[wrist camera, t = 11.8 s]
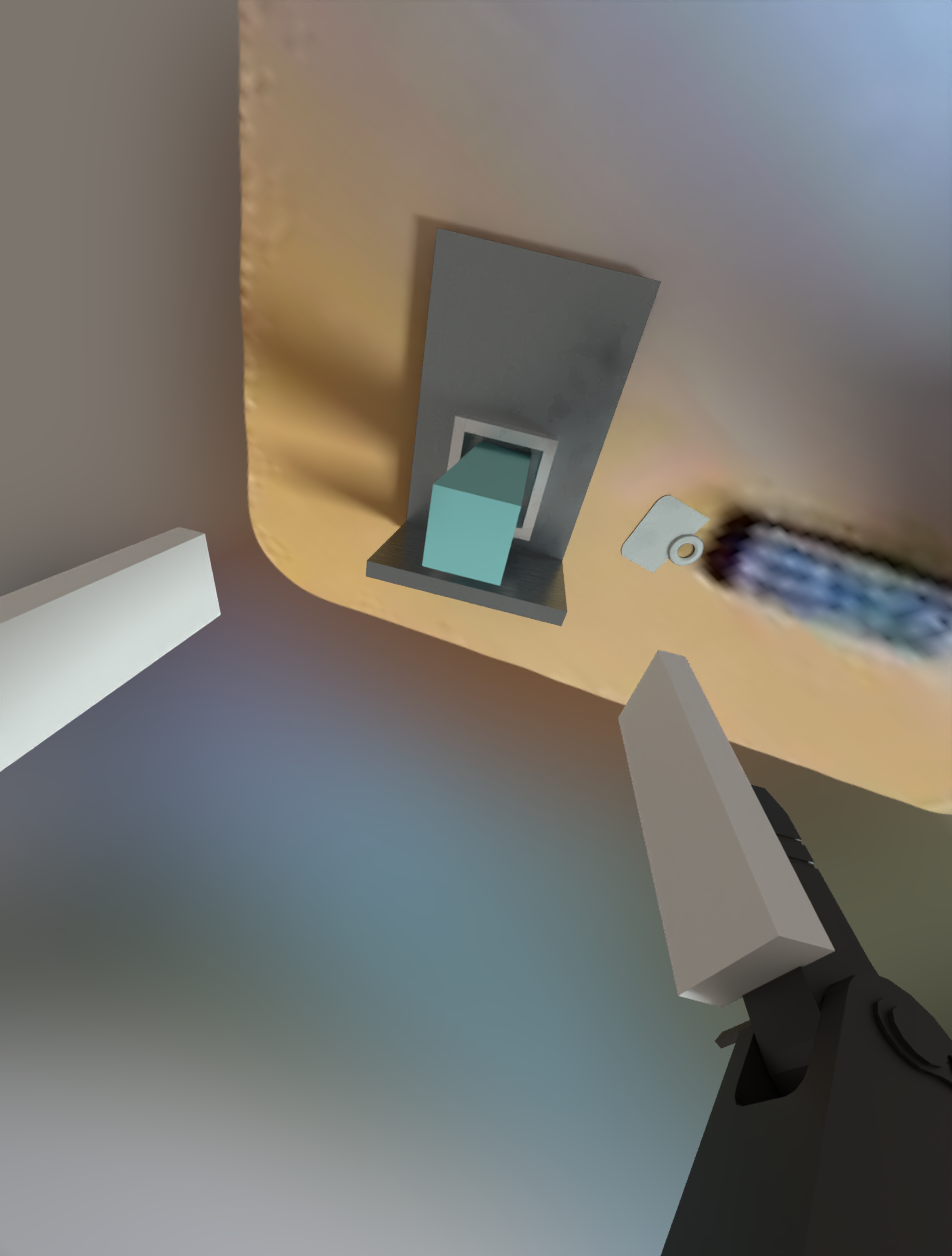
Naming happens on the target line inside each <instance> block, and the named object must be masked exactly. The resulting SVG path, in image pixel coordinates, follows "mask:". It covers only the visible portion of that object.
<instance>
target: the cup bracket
mask: <svg viewBox="0 0 952 1256" xmlns="http://www.w3.org/2000/svg"><path fill="white" fill-rule="evenodd" d="M660 283H661V281H657V280H652V279H648V278H644V277H640V276H636V275H632V274H627V273H623V272H619V271H615V270H611V269H607V268H602V267H598V266H594V265H590V264H586V263H582V262H577V261H573V260H569V259H565V258H561V257H557V256H552V255H548V254H544V253H540V252H536V251H532V250H527V249H523V248H519V247H515V246H511V245H507V244H502V243H498V242H494V241H490V240H486V239H482V238H477V237H473V236H469V235H465V234H461V233H457V232H452V231H448V230H444V229H440V228H437V234H436V243H435V253H434V262H433V272H432V282H431V291H430V301H429V310H428V320H427V329H426V339H425V349H424V358H423V368H422V377H421V387H420V396H419V406H418V415H417V425H416V435H415V444H414V454H413V463H412V473H411V482H410V492H409V502H408V511H407V521H406V522H405V523H404V524H403V525H402V526H401V527H400V528H399V529H398V530H397V531H396V532H395V533H394V534H393V535H392V536H391V537H390V538H389V539H388V540H387V541H386V542H385V543H384V544H383V545H382V546H381V547H380V548H379V549H378V550H377V551H376V552H375V553H374V554H373V555H372V556H371V557H370V558H369V559H368V560H367V568H366V576H367V577H371V578H375V579H379V580H382V581H386V582H390V583H394V584H398V585H402V586H406V587H410V588H414V589H418V590H422V591H426V592H429V593H433V594H437V595H441V596H445V597H449V598H453V599H457V600H461V601H465V602H469V603H473V604H476V605H480V606H484V607H488V608H492V609H496V610H500V611H504V612H508V613H512V614H516V615H519V616H523V617H527V618H531V619H535V620H539V621H543V622H547V623H551V624H555V625H559V626H562V623H563V621H564V618H565V616H566V613H567V606H566V596H565V585H564V575H563V564H562V560H563V557H564V554H565V551H566V548H567V545H568V543H569V540H570V537H571V534H572V531H573V528H574V526H575V523H576V520H577V517H578V514H579V512H580V509H581V506H582V503H583V500H584V497H585V495H586V492H587V489H588V486H589V483H590V480H591V478H592V475H593V472H594V469H595V466H596V464H597V461H598V458H599V455H600V452H601V449H602V447H603V444H604V441H605V438H606V435H607V432H608V430H609V427H610V424H611V421H612V418H613V416H614V413H615V410H616V407H617V404H618V401H619V399H620V396H621V393H622V390H623V387H624V384H625V382H626V379H627V376H628V373H629V370H630V367H631V365H632V362H633V359H634V356H635V353H636V351H637V348H638V345H639V342H640V339H641V336H642V334H643V331H644V328H645V325H646V322H647V319H648V317H649V314H650V311H651V308H652V305H653V303H654V300H655V297H656V294H657V291H658V288H659V286H660ZM480 441H481V442H485V443H489V444H493V445H497V446H501V447H505V448H509V449H513V450H517V451H521V452H525V453H529V454H531V458H530V464H529V469H528V474H527V479H526V484H525V490H524V495H523V500H522V505H521V509H520V513H519V517H518V520H517V524H516V528H515V532H514V535H513V539H512V543H511V547H510V550H509V554H508V558H507V562H506V565H505V569H504V573H503V576H502V580H501V584H500V586H499V585H495V584H491V583H487V582H483V581H479V580H475V579H471V578H467V577H463V576H460V575H456V574H452V573H448V572H444V571H440V570H436V569H432V568H428V567H424V566H422V562H423V555H424V548H425V540H426V533H427V526H428V518H429V511H430V504H431V496H432V489H433V484H434V483H435V482H436V481H437V480H438V479H440V478H441V477H442V476H443V475H444V474H445V473H446V472H447V471H448V470H449V469H451V468H452V467H453V466H454V465H455V464H456V463H457V462H458V461H459V460H460V459H462V458H463V457H464V456H465V455H466V454H467V453H468V452H469V451H470V450H472V449H473V448H474V447H475V446H476V445H477V444H478V443H479V442H480Z"/></svg>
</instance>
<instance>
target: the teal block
mask: <svg viewBox="0 0 952 1256" xmlns="http://www.w3.org/2000/svg"><path fill="white" fill-rule="evenodd" d="M530 458H531V454H529V453H525V452H521V451H517V450H513V449H509V448H505V447H501V446H497V445H493V444H489V443H485V442H481V441H480V442H479V443H478V444H477V445H476V446H475V447H474V448H473V449H472V450H470V451H469V452H468V453H467V454H466V455H465V456H464V457H463V458H462V459H460V460H459V461H458V462H457V463H456V464H455V465H454V466H453V467H452V468H451V469H449V470H448V471H447V472H446V473H445V474H444V475H443V476H442V477H441V478H440V479H438V480H437V481H436V482H435V483H434V484H433V489H432V496H431V504H430V511H429V518H428V526H427V533H426V540H425V548H424V555H423V562H422V566H424V567H428V568H432V569H436V570H440V571H444V572H448V573H452V574H456V575H460V576H463V577H467V578H471V579H475V580H479V581H483V582H487V583H491V584H495V585H499V586H500V584H501V580H502V576H503V573H504V569H505V565H506V562H507V558H508V554H509V550H510V547H511V543H512V539H513V535H514V532H515V528H516V524H517V520H518V517H519V513H520V509H521V505H522V500H523V495H524V490H525V484H526V479H527V474H528V469H529V464H530Z"/></svg>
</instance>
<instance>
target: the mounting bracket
mask: <svg viewBox="0 0 952 1256" xmlns="http://www.w3.org/2000/svg"><path fill="white" fill-rule="evenodd" d="M708 520H709V519H708V518H707V517H705V516H704V515H702V514H700V513H699V512H697V511H695V510H694V509H692V508H690V507H689V506H687V505H686V504H684V503H682V502H681V501H679V500H677V499H676V498H674V497H672V496H671V495H668V496H664V497H662V498H660V499H659V500H658V501H657V502H656V503H655V505H654V506H653V507H652V508H651V510H650V511H649V512H648V513H647V515H646V516H645V517H644V519H643V520H642V521H641V522H640V524H639V525H638V526H637V528H636V529H635V530H634V531H633V533H632V534H631V535H630V537H629V538H628V539H627V540H626V542H625V543H624V544H623V546H622V549H621V553H622V556H624V557H626V558H628V559H629V560H631V561H633V562H635V563H636V564H638V565H640V566H642V567H643V568H645V569H647V570H649V571H650V572H652V573H653V572H654V571H656V570H657V569H658V568H659V567H660V566H661V565H662V564H663V563H664V562H665V561H666V560H667V559H668V558H669V559H670V560H671V561H672V562H673V563H674V564H677V565H689V564H691V563H694V562H695V561H696V560H698V559H699V558H700V556H701V555H702V553H703V548H704V546H703V542H702V540H701V539H700V538H699V537H698V536H695V535H694V534H695V533H696V532H697V531H698V530H699V529H700V528H701V527H702V526H703V525H704V524H705V523H706V522H707V521H708ZM686 543H690V544H693V545H694V547H695V550H694V552H693V554H692V555H691V556H689V557H687V558H681V557H679V556H678V549H679V548H680V547H681V546H682V545H683V544H686Z"/></svg>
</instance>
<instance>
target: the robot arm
mask: <svg viewBox="0 0 952 1256" xmlns="http://www.w3.org/2000/svg"><path fill="white" fill-rule="evenodd" d="M219 615H220V609H219V604H218V599H217V594H216V589H215V584H214V579H213V573H212V568H211V564H210V558H209V553H208V548H207V543H206V538H205V534H204V533H200V532H196V531H192V530H189V529H185V528H180V527H178V528H175V529H172V530H170V531H167V532H165V533H162V534H160V535H157V536H155V537H152V538H149V539H147V540H144V541H142V542H139V543H137V544H134V545H132V546H129V547H126V548H124V549H121V550H119V551H116V552H114V553H111V554H109V555H106V556H104V557H101V558H98V559H96V560H93V561H91V562H88V563H86V564H83V565H81V566H78V567H75V568H73V569H70V570H68V571H65V572H63V573H60V574H58V575H55V576H53V577H50V578H47V579H45V580H42V581H40V582H37V583H35V584H32V585H30V586H27V587H24V588H22V589H20V590H17V591H14V592H12V593H9V594H7V595H4V596H1V597H0V771H2V770H3V769H4V768H6V767H7V766H9V765H10V764H11V763H13V762H14V761H16V760H17V759H19V758H20V757H21V756H23V755H24V754H25V753H27V752H28V751H30V750H31V749H33V748H34V747H35V746H37V745H38V744H40V743H41V742H42V741H44V740H45V739H46V738H48V737H49V736H51V735H52V734H54V733H55V732H56V731H58V730H59V729H61V728H62V727H63V726H65V725H66V724H68V723H69V722H70V721H72V720H73V719H75V718H76V717H77V716H79V715H80V714H82V713H83V712H85V711H86V710H87V709H89V708H90V707H92V706H93V705H94V704H96V703H97V702H99V701H100V700H101V699H103V698H104V697H106V696H107V695H108V694H110V693H111V692H112V691H114V690H115V689H117V688H118V687H120V686H121V685H122V684H124V683H125V682H127V681H128V680H129V679H131V678H132V677H134V676H135V675H136V674H138V673H139V672H141V671H142V670H144V669H145V668H146V667H148V666H149V665H151V664H152V663H153V662H155V661H156V660H157V659H159V658H160V657H162V656H163V655H165V654H166V653H167V652H169V651H170V650H172V649H173V648H174V647H176V646H177V645H179V644H180V643H181V642H183V641H184V640H186V639H187V638H189V637H190V636H191V635H193V634H194V633H196V632H197V631H198V630H200V629H201V628H203V627H204V626H205V625H207V624H208V623H210V622H211V621H212V620H214V619H215V618H217V617H218V616H219ZM618 719H619V723H620V727H621V732H622V737H623V742H624V746H625V750H626V756H627V760H628V765H629V769H630V774H631V779H632V783H633V787H634V792H635V797H636V802H637V806H638V811H639V815H640V820H641V825H642V830H643V834H644V839H645V843H646V848H647V852H648V857H649V861H650V867H651V871H652V875H653V880H654V885H655V889H656V894H657V899H658V903H659V908H660V912H661V917H662V922H663V927H664V931H665V936H666V940H667V945H668V950H669V954H670V959H671V963H672V968H673V973H674V977H675V982H676V987H677V991H678V996H682V997H685V998H689V999H693V1000H696V1001H700V1002H703V1003H707V1004H711V1005H715V1006H718V1007H724V1006H726V1005H728V1004H730V1003H732V1002H734V1001H736V1000H738V999H740V998H742V997H743V999H744V1002H745V1005H746V1008H747V1011H748V1014H749V1018H750V1020H749V1021H746V1022H744V1023H742V1024H740V1025H737V1026H735V1027H733V1028H731V1029H728V1030H726V1031H723V1032H722V1033H721V1034H720V1035H719V1037H718V1038H717V1039H716V1040H715V1042H716V1043H717V1044H718V1045H719V1046H720V1048H724V1047H726V1046H729V1045H731V1044H734V1043H736V1044H735V1046H734V1049H733V1052H732V1055H731V1058H730V1061H729V1063H728V1066H727V1069H726V1072H725V1075H724V1078H723V1080H722V1083H721V1086H720V1089H719V1092H718V1094H717V1098H716V1100H715V1103H714V1106H713V1109H712V1112H711V1114H710V1117H709V1120H708V1123H707V1126H706V1129H705V1132H704V1134H703V1137H702V1140H701V1143H700V1146H699V1148H698V1151H697V1154H696V1157H695V1160H694V1163H693V1166H692V1168H691V1171H690V1174H689V1177H688V1180H687V1183H686V1185H685V1188H684V1191H683V1194H682V1197H681V1200H680V1203H679V1205H678V1208H677V1211H676V1214H675V1217H674V1220H673V1223H672V1225H671V1228H670V1231H669V1234H668V1237H667V1239H666V1242H665V1245H664V1248H663V1251H662V1254H661V1256H952V1040H951V1039H950V1038H949V1037H948V1035H947V1034H946V1033H945V1031H944V1030H943V1029H942V1028H941V1026H940V1025H939V1024H938V1022H937V1021H936V1020H935V1018H934V1017H933V1016H931V1014H930V1013H928V1011H926V1010H925V1009H924V1008H923V1007H922V1006H921V1005H920V1004H919V1003H918V1002H917V1001H916V1000H915V999H914V998H913V997H912V996H911V995H910V994H908V993H907V992H906V991H904V990H902V989H901V988H900V987H898V986H897V985H895V984H894V983H893V982H891V981H890V980H888V979H886V978H883V977H880V976H879V975H878V973H877V972H876V970H875V969H874V967H873V966H872V964H871V963H870V961H869V959H868V957H867V956H866V954H865V952H864V950H863V948H862V947H861V945H860V943H859V941H858V940H857V938H856V936H855V934H854V932H853V931H852V929H851V927H850V925H849V924H848V922H847V920H846V918H845V916H844V915H843V913H842V911H841V909H840V907H839V906H838V904H837V902H836V900H835V898H834V897H833V895H832V893H831V891H830V890H829V888H828V886H827V884H826V882H825V881H824V879H823V877H822V875H821V873H820V872H819V870H818V869H816V868H815V867H814V861H813V859H812V857H811V856H810V854H809V852H808V850H807V848H806V847H805V846H804V845H802V844H801V841H802V839H801V838H800V836H799V834H798V832H797V831H796V829H795V827H794V825H793V823H792V822H791V820H790V818H789V816H788V814H787V813H786V812H785V811H784V810H783V808H782V807H781V806H780V805H779V804H778V803H777V802H776V801H775V799H774V798H773V797H772V796H771V795H770V794H769V793H768V792H767V790H766V789H765V788H761V787H758V786H754V785H750V783H749V781H748V779H747V777H746V775H745V773H744V771H743V769H742V767H741V765H740V763H739V761H738V759H737V757H736V755H735V753H734V751H733V749H732V747H731V745H730V743H729V741H728V739H727V737H726V735H725V733H724V732H723V730H722V728H721V726H720V724H719V722H718V720H717V718H716V716H715V714H714V712H713V710H712V708H711V706H710V704H709V702H708V700H707V698H706V696H705V694H704V692H703V690H702V688H701V686H700V684H699V682H698V681H697V679H696V677H695V675H694V673H693V671H692V669H691V667H690V665H689V663H688V661H687V659H686V657H685V656H681V655H677V654H673V653H669V652H665V651H661V650H658V651H657V653H656V655H655V656H654V658H653V660H652V661H651V663H650V665H649V667H648V668H647V670H646V672H645V673H644V675H643V677H642V678H641V680H640V682H639V684H638V685H637V687H636V689H635V690H634V692H633V694H632V696H631V697H630V699H629V701H628V702H627V704H626V706H625V708H624V709H623V711H622V713H621V715H620V716H619V718H618Z"/></svg>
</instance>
